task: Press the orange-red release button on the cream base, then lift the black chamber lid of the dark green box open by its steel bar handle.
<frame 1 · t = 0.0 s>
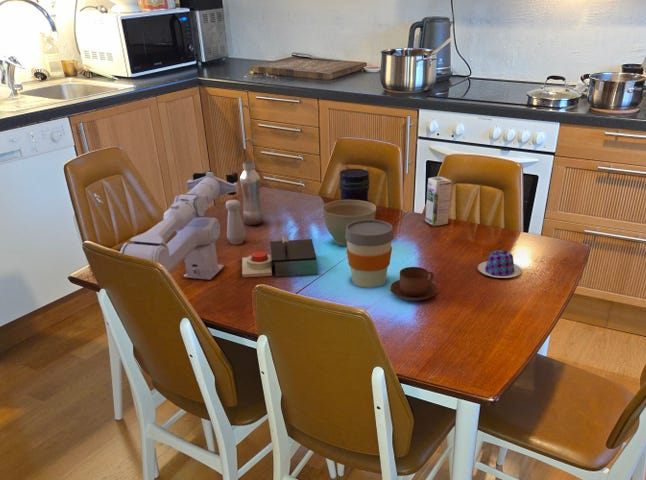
hand: (224, 175, 184), 22 cm above the table, tool horizontal, fingers open, 7 cm apart
release button: (259, 256, 180), point 3 cm above the table, slide at 0.1 cm
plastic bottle: (253, 224, 213), on the table
salt shaker: (237, 242, 199), on the table
cup and saucer: (413, 295, 166), on the table
syrup box: (436, 223, 213), on the table
planter bowl: (349, 242, 198), on the table
button base: (256, 268, 181), on the table
dark green box: (294, 265, 183), on the table
storage jar: (354, 217, 218), on the table
pudding: (499, 272, 178), on the table
reusable coffee cup: (369, 281, 174), on the table
chamber lid: (292, 244, 179), point 6 cm above the table, hinge at 0.0°
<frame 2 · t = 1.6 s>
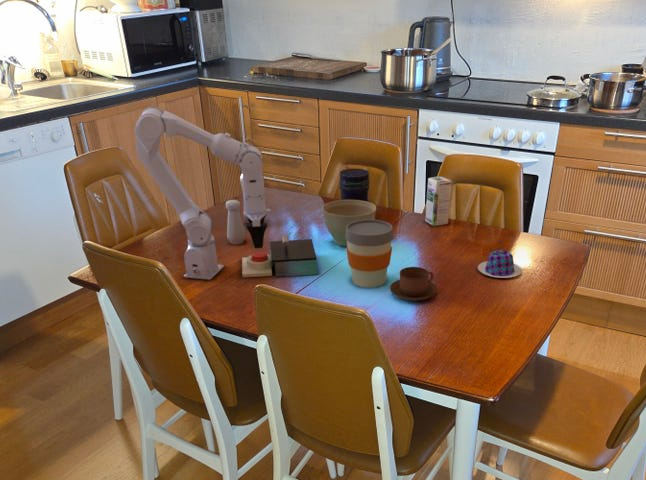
hand: (258, 242, 178), 7 cm above the table, tool pointing down, fingers open, 7 cm apart
nothing on the table moved.
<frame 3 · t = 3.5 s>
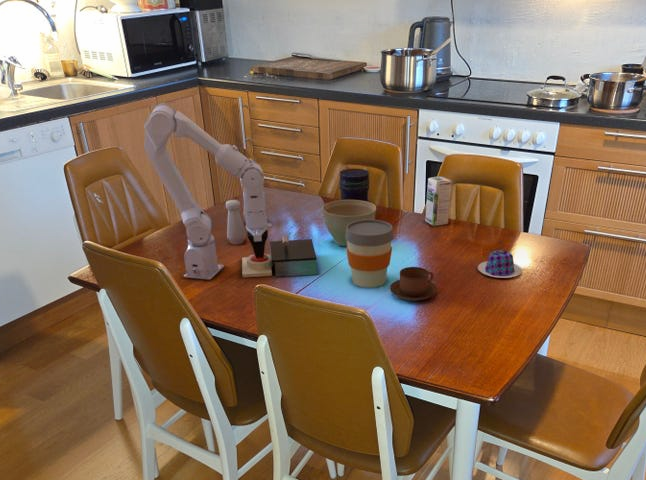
hand: (259, 256, 180), 3 cm above the table, tool pointing down, fingers closed, pressing on release button
release button: (259, 259, 180), point 2 cm above the table, slide at -0.7 cm, touching gripper
everything else where it was.
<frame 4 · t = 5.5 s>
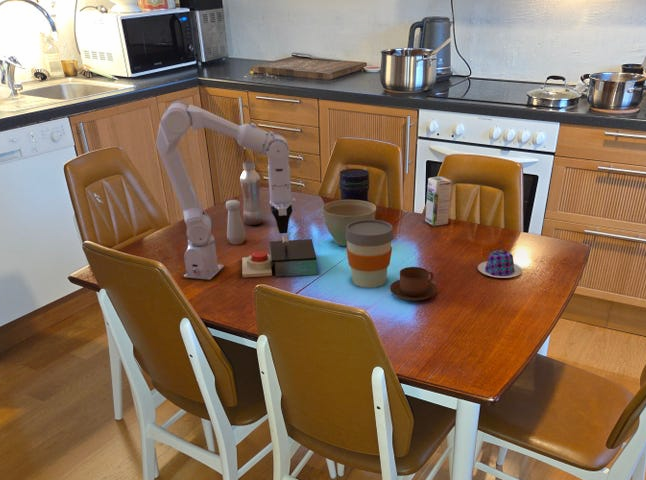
hand: (283, 232, 177), 10 cm above the table, tool pointing down, fingers closed
release button: (259, 256, 180), point 3 cm above the table, slide at 0.1 cm
everything else where it was.
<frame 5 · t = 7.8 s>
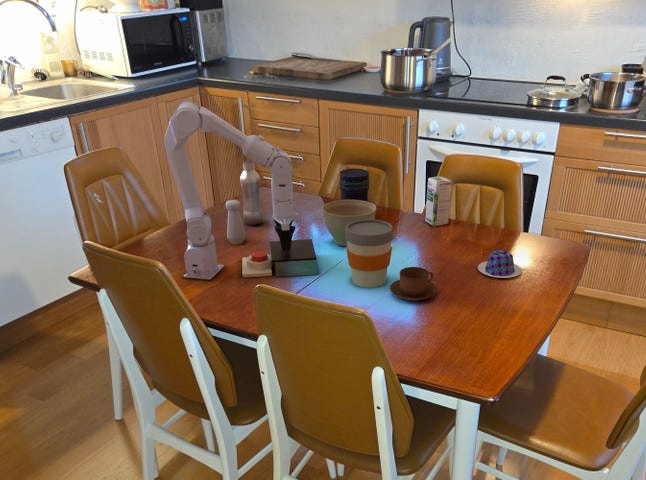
hand: (285, 246, 179), 6 cm above the table, tool pointing down, fingers closed on chamber lid, 5 cm apart
chamber lid: (292, 244, 179), point 6 cm above the table, hinge at 0.0°, touching gripper
everything else where it was.
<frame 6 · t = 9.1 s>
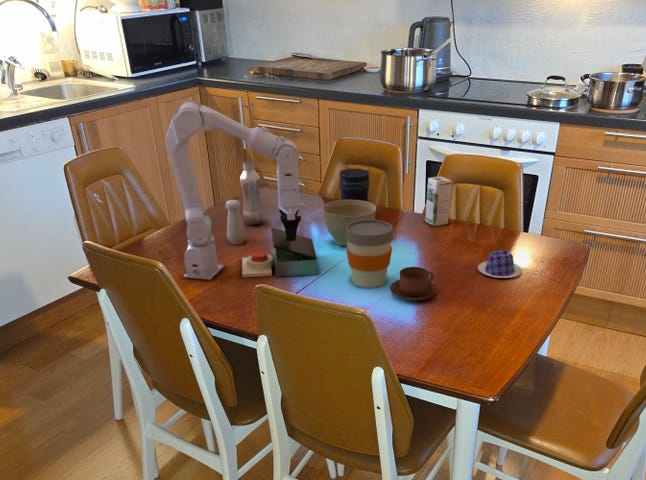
hand: (290, 236, 178), 9 cm above the table, tool pointing down, fingers closed on chamber lid, 5 cm apart
chamber lid: (295, 237, 178), point 8 cm above the table, hinge at 20.5°, touching gripper
everything else where it was.
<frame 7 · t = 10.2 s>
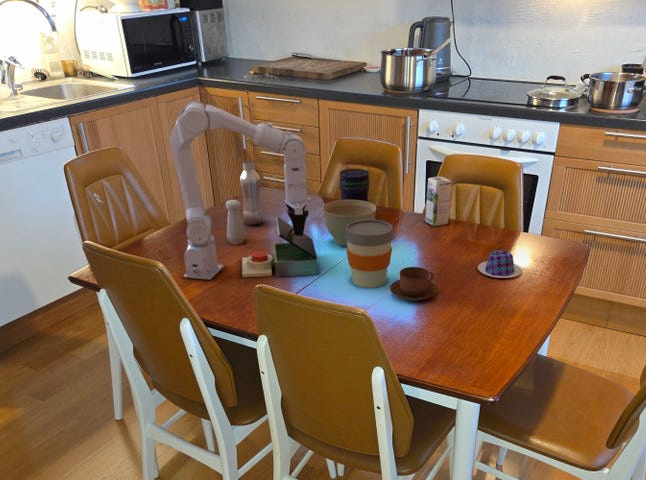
hand: (298, 231, 178), 10 cm above the table, tool pointing down, fingers closed on chamber lid, 5 cm apart
chamber lid: (299, 232, 178), point 10 cm above the table, hinge at 36.9°, touching gripper
everything else where it was.
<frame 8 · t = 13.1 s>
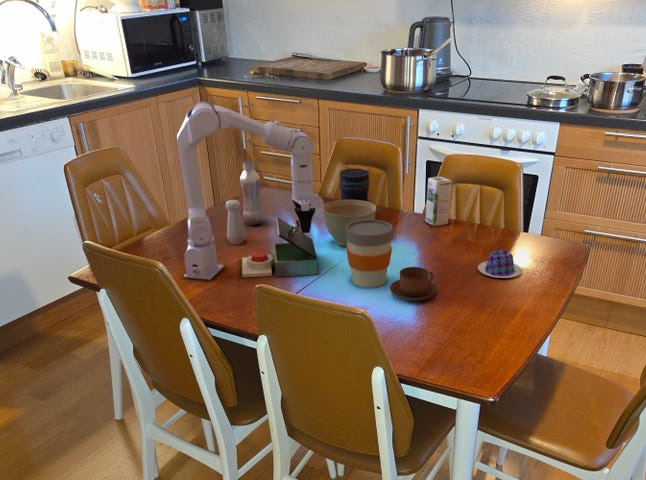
hand: (304, 227, 180), 10 cm above the table, tool pointing down, fingers open, 7 cm apart
chamber lid: (299, 232, 178), point 10 cm above the table, hinge at 36.7°
everything else where it was.
at the end: release button pushed in 1.2 cm at the most during the clip, back to where it started at the end; release button slide at 0.1 cm; chamber lid at +37° (first picture: +0°) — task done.
